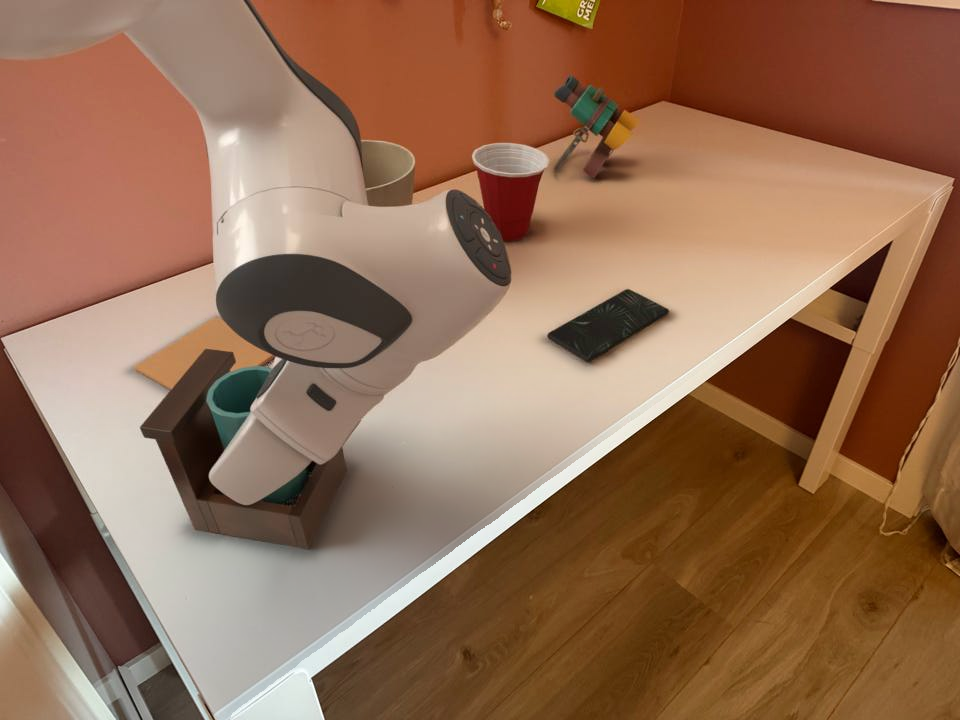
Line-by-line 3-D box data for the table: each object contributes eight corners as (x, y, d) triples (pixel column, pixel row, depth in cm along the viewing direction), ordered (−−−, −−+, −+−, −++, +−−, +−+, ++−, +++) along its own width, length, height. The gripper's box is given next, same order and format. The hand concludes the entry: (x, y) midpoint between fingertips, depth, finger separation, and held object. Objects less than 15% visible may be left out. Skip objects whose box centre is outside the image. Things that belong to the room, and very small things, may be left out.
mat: (201, 408, 78) (199, 405, 78) (135, 370, 83) (133, 366, 83) (283, 351, 86) (282, 348, 85) (217, 319, 91) (216, 316, 91)
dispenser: (348, 466, 71) (327, 363, 62) (307, 553, 63) (276, 447, 55) (239, 450, 73) (205, 348, 65) (185, 532, 65) (138, 427, 57)
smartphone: (670, 309, 89) (588, 359, 81) (669, 316, 89) (588, 366, 82) (627, 287, 93) (545, 333, 85) (626, 293, 93) (545, 339, 86)
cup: (271, 519, 62) (242, 427, 55) (223, 488, 65) (190, 397, 58) (323, 473, 66) (302, 383, 60) (276, 446, 69) (251, 357, 62)
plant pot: (293, 280, 98) (268, 170, 88) (369, 235, 107) (354, 131, 97) (372, 316, 91) (355, 201, 81) (446, 265, 100) (439, 156, 90)
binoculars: (579, 204, 120) (633, 135, 110) (512, 154, 119) (560, 80, 109) (599, 171, 130) (650, 104, 120) (537, 124, 129) (584, 54, 119)
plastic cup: (548, 250, 102) (552, 170, 95) (473, 251, 103) (470, 172, 95) (544, 214, 111) (547, 139, 103) (474, 215, 111) (472, 140, 104)
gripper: (358, 256, 61) (275, 335, 69) (247, 417, 45) (156, 496, 53) (412, 305, 63) (325, 377, 71) (324, 476, 47) (225, 544, 55)
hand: (252, 429), depth 62 cm, fingers closed on cup, 6 cm apart
